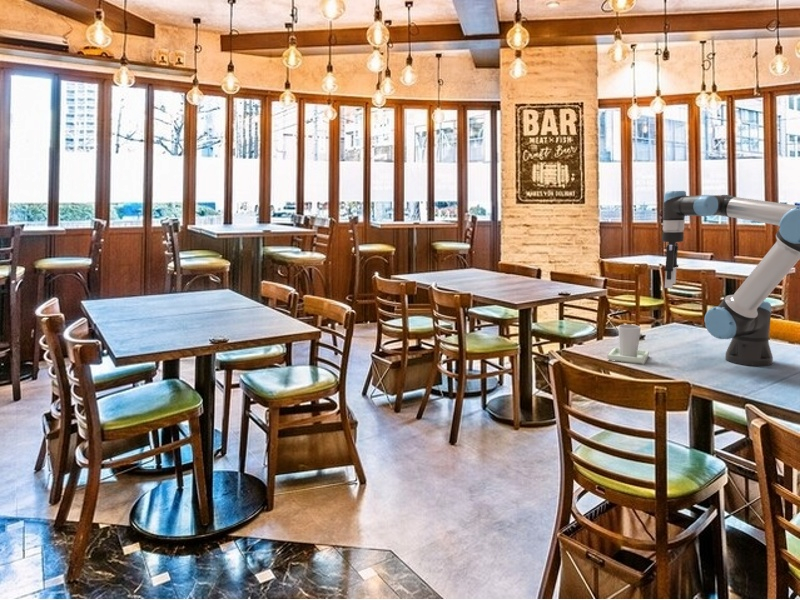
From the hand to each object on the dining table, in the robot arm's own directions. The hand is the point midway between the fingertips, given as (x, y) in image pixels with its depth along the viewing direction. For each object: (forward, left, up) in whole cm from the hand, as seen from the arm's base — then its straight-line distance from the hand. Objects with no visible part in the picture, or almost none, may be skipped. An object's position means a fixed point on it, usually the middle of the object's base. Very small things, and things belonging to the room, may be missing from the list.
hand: (670, 285), depth 226 cm
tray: (+12, +17, -27) cm, 34 cm away
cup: (+12, +17, -26) cm, 34 cm away
